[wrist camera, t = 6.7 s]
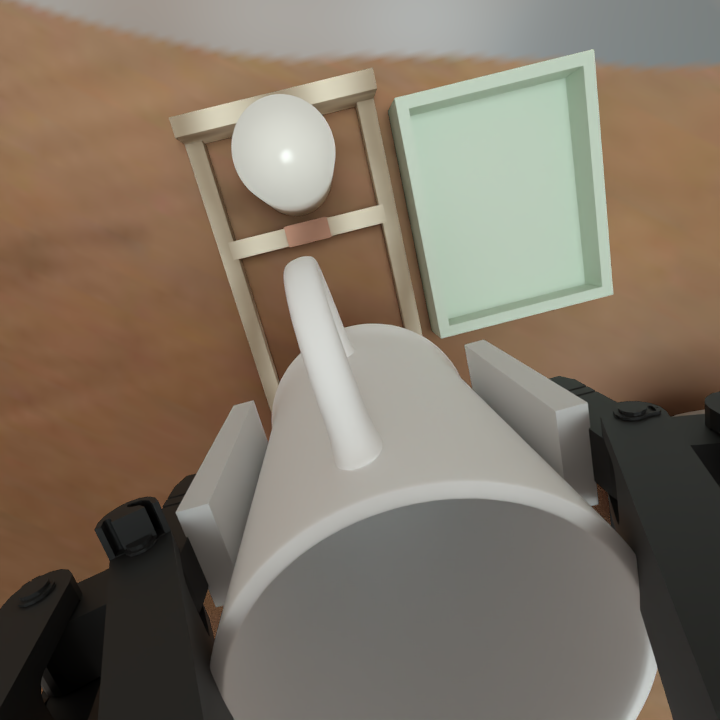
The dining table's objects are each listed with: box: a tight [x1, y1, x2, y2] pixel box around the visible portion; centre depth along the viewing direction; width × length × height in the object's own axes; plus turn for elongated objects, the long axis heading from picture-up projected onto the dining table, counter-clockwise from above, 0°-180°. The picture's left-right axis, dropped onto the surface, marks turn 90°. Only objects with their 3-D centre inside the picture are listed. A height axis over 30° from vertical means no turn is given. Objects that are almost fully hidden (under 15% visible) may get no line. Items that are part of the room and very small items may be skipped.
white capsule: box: [232, 94, 335, 216], centre depth 28 cm, size 6×6×9 cm
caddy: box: [169, 68, 422, 413], centre depth 32 cm, size 13×25×3 cm, turn 14°
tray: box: [388, 49, 613, 338], centre depth 32 cm, size 14×17×3 cm
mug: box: [210, 256, 657, 720], centre depth 13 cm, size 12×8×12 cm
